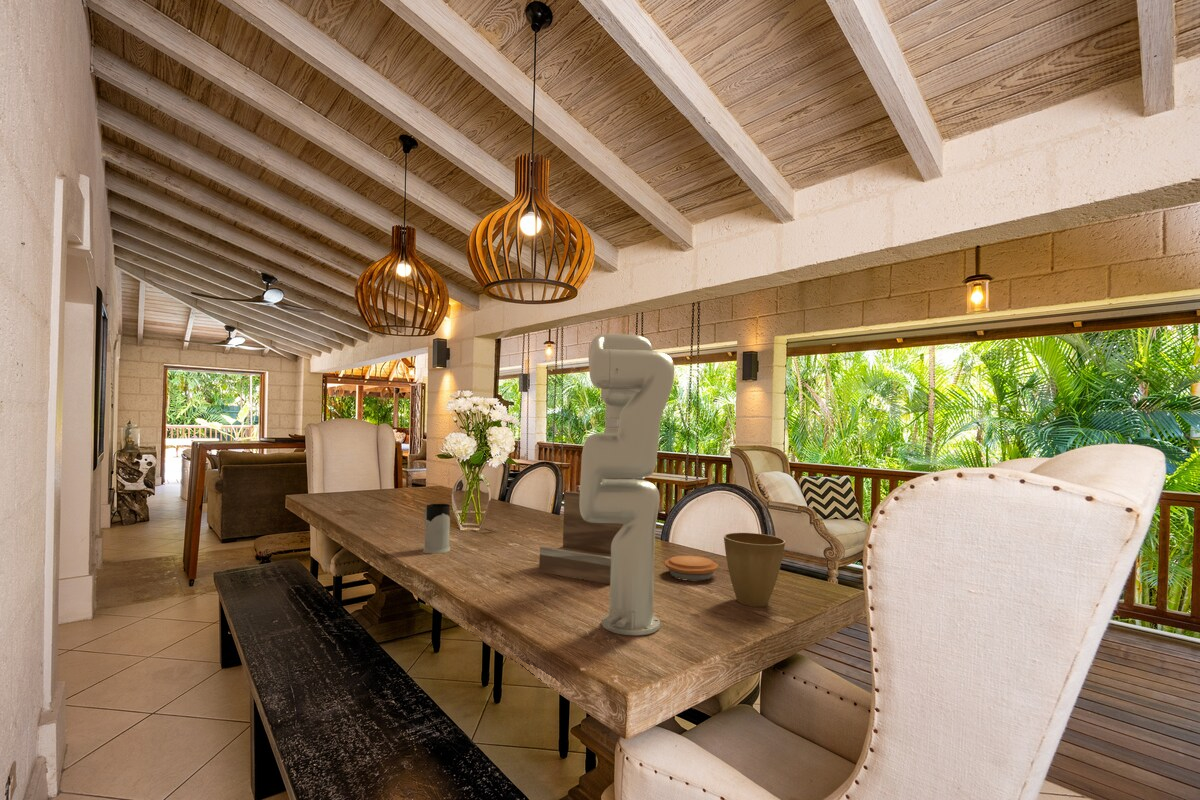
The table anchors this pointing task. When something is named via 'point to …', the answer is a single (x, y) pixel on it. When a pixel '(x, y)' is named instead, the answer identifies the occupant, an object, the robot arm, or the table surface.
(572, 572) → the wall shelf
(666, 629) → the table surface
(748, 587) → the plant pot
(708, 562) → the pie
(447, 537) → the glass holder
